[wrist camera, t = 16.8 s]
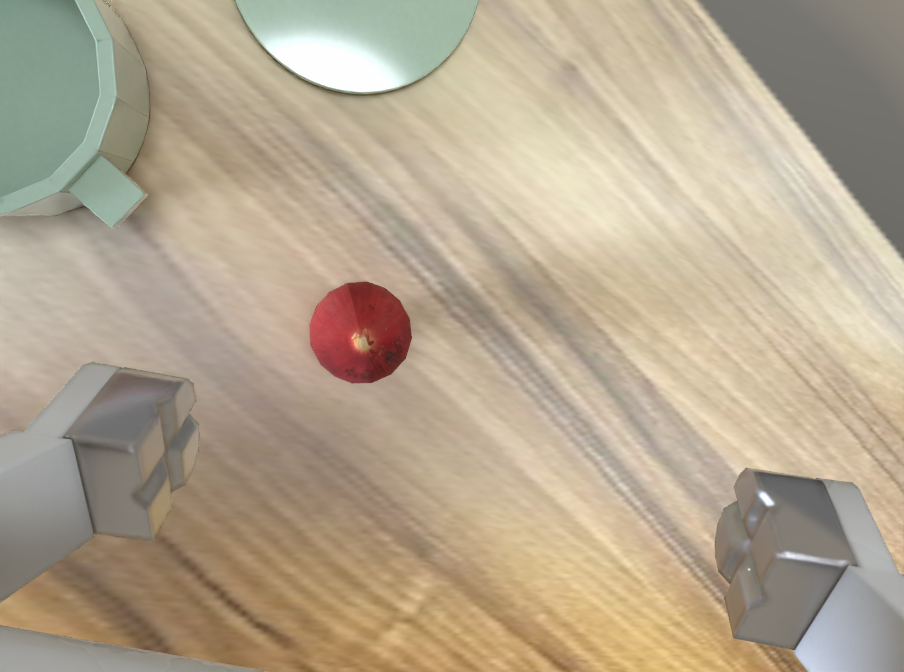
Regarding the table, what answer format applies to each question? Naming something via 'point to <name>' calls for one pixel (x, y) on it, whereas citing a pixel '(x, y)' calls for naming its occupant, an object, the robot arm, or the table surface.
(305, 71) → the pot lid
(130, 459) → the robot arm
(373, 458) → the table surface
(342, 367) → the onion
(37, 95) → the pot
